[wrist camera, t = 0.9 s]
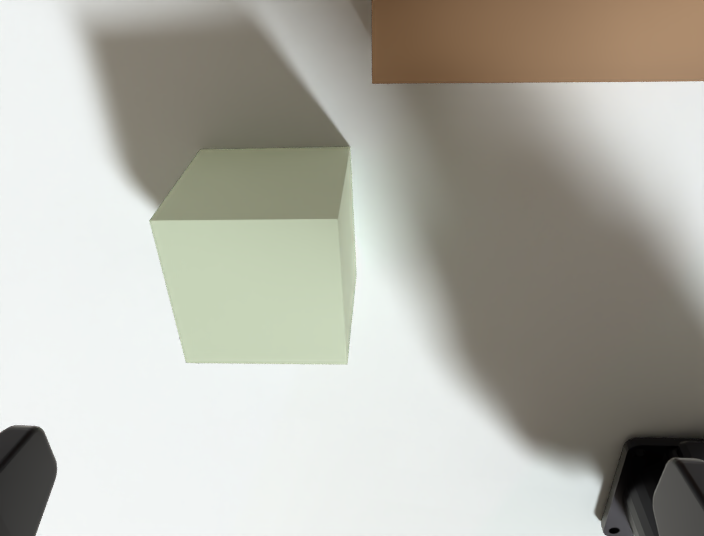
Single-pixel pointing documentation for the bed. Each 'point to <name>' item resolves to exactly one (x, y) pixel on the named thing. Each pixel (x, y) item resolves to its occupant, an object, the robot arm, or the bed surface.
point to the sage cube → (261, 255)
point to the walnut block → (537, 41)
